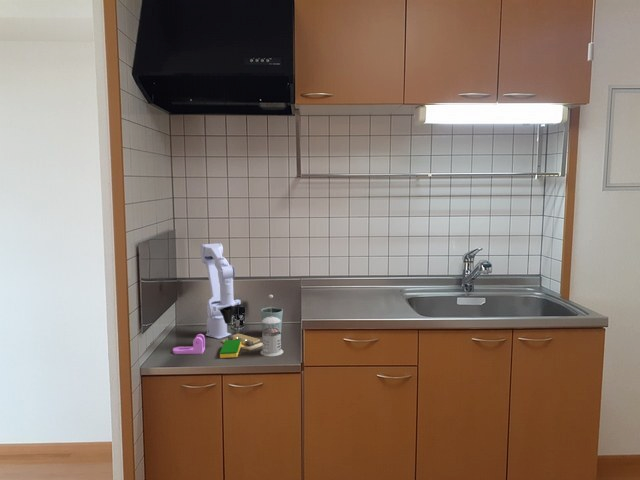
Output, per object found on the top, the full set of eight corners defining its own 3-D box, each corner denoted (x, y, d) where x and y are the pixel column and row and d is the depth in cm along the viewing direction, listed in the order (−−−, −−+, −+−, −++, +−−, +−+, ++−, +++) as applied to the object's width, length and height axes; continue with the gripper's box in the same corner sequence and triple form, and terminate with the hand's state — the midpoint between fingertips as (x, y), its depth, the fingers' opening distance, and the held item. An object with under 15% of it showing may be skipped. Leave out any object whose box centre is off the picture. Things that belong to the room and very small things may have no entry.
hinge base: (263, 345, 217) (263, 338, 217) (249, 350, 210) (249, 344, 210) (235, 337, 228) (235, 331, 227) (221, 342, 221) (221, 336, 220)
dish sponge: (220, 358, 201) (219, 352, 201) (225, 345, 215) (225, 340, 214) (237, 357, 201) (236, 351, 201) (241, 344, 215) (241, 339, 215)
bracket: (205, 349, 212) (204, 333, 212) (202, 353, 207) (201, 338, 206) (174, 349, 212) (174, 334, 211) (171, 354, 207) (170, 338, 206)
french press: (262, 357, 202) (260, 298, 199) (258, 347, 213) (256, 291, 210) (285, 354, 205) (284, 296, 202) (280, 345, 216) (279, 290, 213)
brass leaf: (260, 342, 218) (260, 338, 218) (249, 346, 213) (249, 341, 212) (238, 336, 226) (238, 332, 226) (227, 340, 221) (227, 335, 221)
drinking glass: (259, 332, 234) (258, 308, 233) (279, 330, 238) (278, 306, 237) (265, 339, 225) (264, 313, 223) (286, 336, 229) (285, 311, 227)
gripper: (220, 297, 206) (221, 329, 208) (245, 291, 218) (245, 320, 219) (209, 295, 210) (210, 326, 212) (234, 289, 222) (234, 318, 223)
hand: (227, 323), depth 216 cm, fingers closed
